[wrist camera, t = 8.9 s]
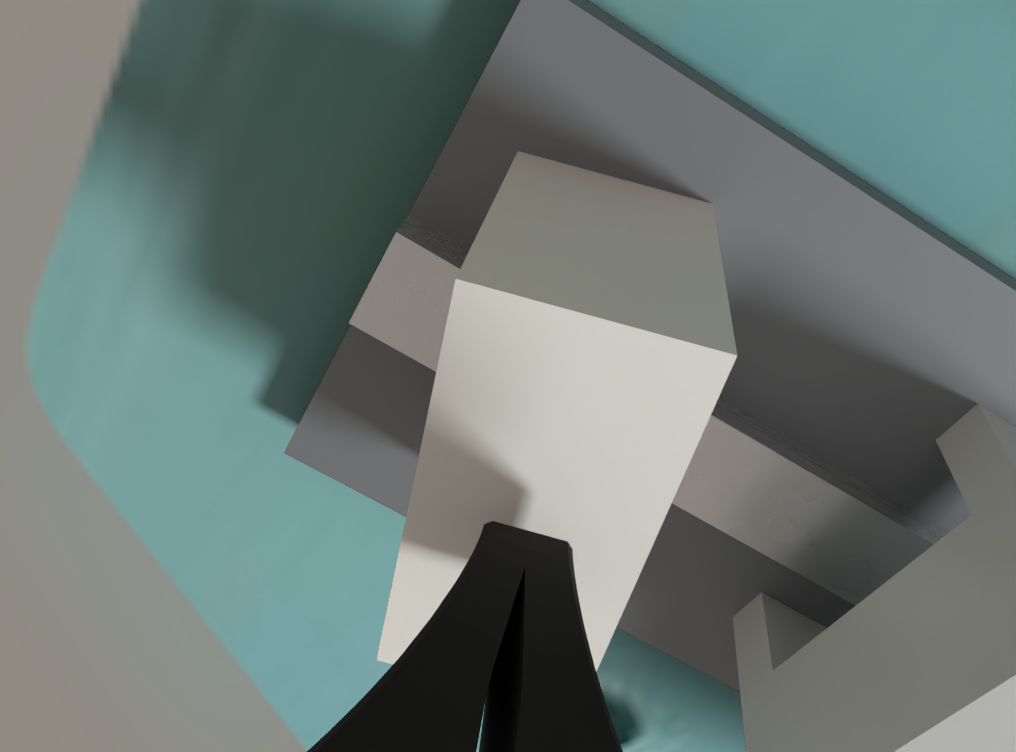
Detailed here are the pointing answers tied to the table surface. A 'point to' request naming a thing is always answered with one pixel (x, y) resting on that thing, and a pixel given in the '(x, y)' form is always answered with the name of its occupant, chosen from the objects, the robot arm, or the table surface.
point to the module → (567, 386)
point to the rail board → (750, 401)
